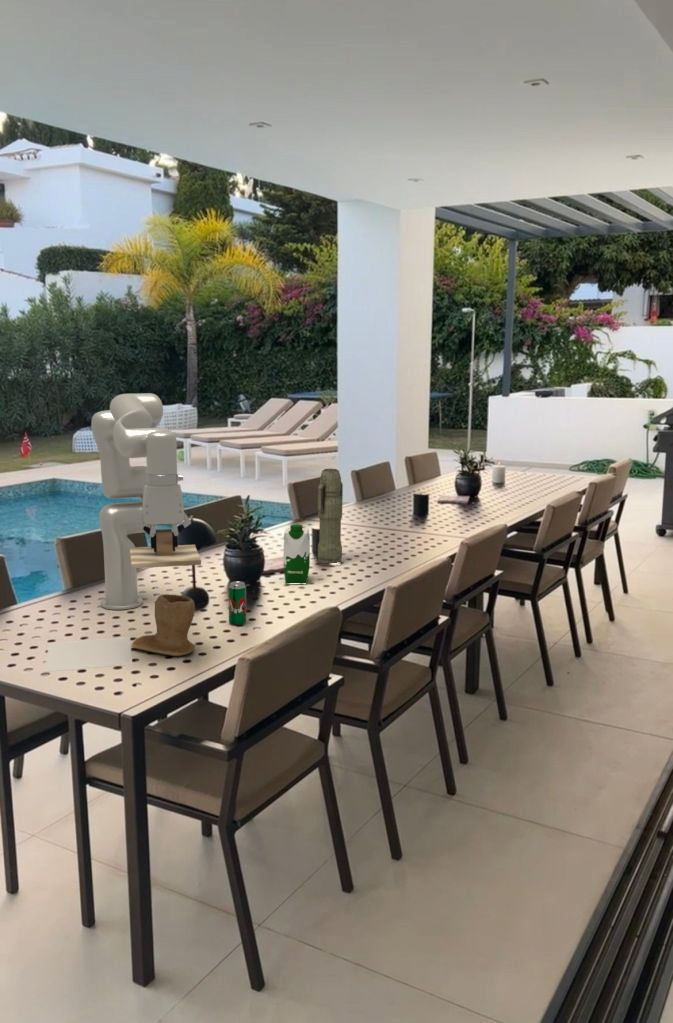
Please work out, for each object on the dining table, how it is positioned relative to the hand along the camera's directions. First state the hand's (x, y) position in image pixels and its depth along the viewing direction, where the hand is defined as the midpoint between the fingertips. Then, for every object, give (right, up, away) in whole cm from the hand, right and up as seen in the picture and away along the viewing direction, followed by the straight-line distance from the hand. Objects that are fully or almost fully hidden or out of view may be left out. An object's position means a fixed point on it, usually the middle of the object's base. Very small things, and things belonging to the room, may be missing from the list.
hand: (164, 549), depth 220 cm
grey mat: (-20, -27, +1) cm, 34 cm away
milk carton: (+31, -14, +71) cm, 79 cm away
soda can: (+16, -23, +28) cm, 39 cm away
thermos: (+42, -10, +96) cm, 105 cm away
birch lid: (0, -2, 0) cm, 2 cm away
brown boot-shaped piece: (0, -27, +5) cm, 28 cm away
